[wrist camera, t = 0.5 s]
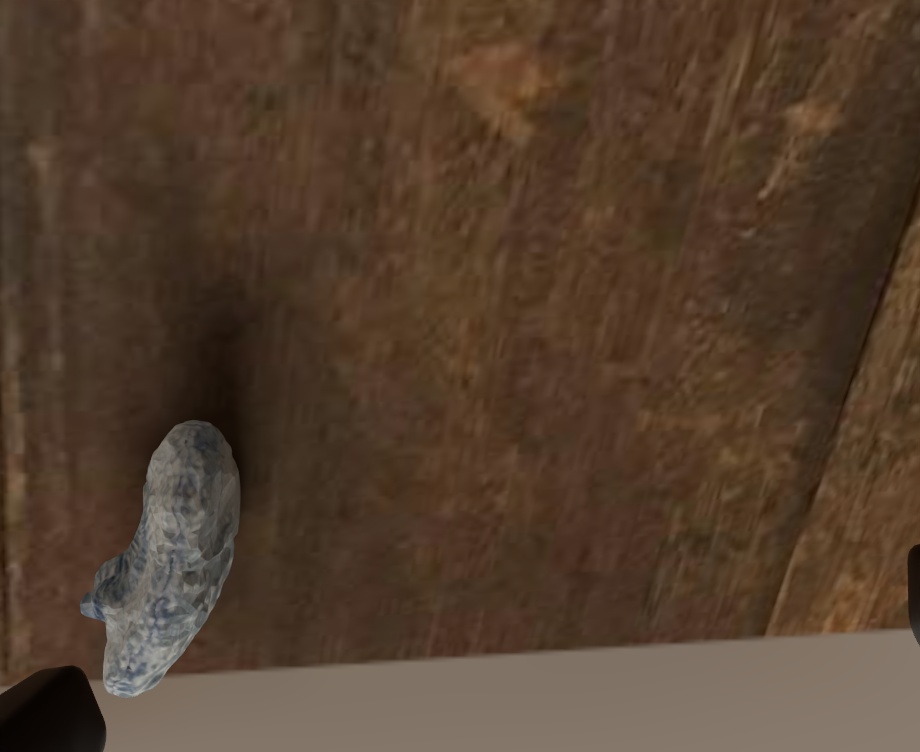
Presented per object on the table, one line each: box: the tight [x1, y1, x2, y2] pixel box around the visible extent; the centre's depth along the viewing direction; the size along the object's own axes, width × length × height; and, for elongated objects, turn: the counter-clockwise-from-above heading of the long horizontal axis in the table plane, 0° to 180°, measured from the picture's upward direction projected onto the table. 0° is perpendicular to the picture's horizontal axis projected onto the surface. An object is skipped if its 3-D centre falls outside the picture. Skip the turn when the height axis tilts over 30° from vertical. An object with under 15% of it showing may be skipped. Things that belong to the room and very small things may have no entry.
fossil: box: [80, 420, 240, 698], centre depth 21 cm, size 8×4×5 cm, turn 158°
